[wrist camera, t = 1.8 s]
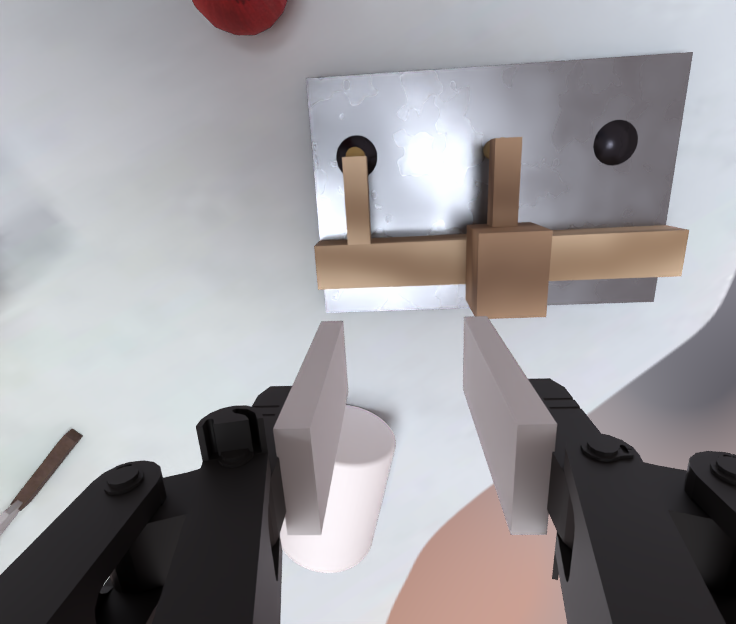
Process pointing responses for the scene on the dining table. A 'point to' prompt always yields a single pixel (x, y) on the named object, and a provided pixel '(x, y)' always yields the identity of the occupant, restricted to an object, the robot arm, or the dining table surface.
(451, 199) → the bolt plate
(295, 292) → the dining table surface
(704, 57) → the dining table surface
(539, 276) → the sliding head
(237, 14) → the onion
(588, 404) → the dining table surface
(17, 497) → the kitchen knife
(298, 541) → the mug
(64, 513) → the robot arm
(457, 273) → the beam
